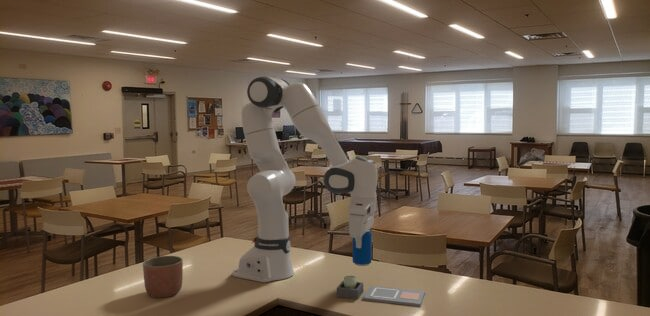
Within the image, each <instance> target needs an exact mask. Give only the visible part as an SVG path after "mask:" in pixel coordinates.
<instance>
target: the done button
mask: <svg viewBox="0 0 650 316" xmlns="http://www.w3.org/2000/svg"><path fill="white" fill-rule="evenodd" d="M343 281H344V288H351V289H356V282H357V277H356V276H355V275H346V276H344V277H343Z"/></svg>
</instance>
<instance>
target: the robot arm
mask: <svg viewBox="0 0 650 316" xmlns="http://www.w3.org/2000/svg"><path fill="white" fill-rule="evenodd" d="M246 93H247V98H248V100H249V102H248V103H246V104H245V105H243V107H242V109H241V125H242V130H243V135H244V139H245V143H246V147H247V150H248V151H247V152H248V155H249V157H250V159H252V160H253V161H254V163H255V164H256V166H257V168H258V170H259V171H258V172H256V173H255V174H254V175H252V176H251V177H250V178H249V179H248V182H247V185H246V190H247V191H246V192H247V194H248V195H249V197H250V198H251V199H252V201H253V204H254V207H255V210H256V214H257V215H256V216H257V230H258V231H257V236H256V237H254V239H251V241H252V242H251V243H252V244H253V243H254V245H253V246H252V247H251V248H250V249H249V250H248V251H246V252H245V253H244V254H243V255H242V256H241V257H240V259H239V262H238V267H236V268H235V269H234V270H233V271H232V277H235V278H240V279H244V280H250V281H254V282H259V283H269V282H272V281H279V280H280V281H281V280H285V279H288V278H290V277H293V275H294V274H295V271H294V269H293V264H292V258H291V253H290V251H291V235H290V231H289V230H290V228H289V214H288V212H287V211H286V209H285V206H284V202H283V197H285V196H286V195H288V194H289V193H291V191H292V190H293V189H294V188H295V185H296V183H297V182H296V179H297V178H296V175H295V173H294V172H293V170H291V169H290V167H289V166H288V164H287V162H286V159H285V158H284V156H283V154H282V152H281V151H282V150H281V149H280V145H279V141H278V137H277V134H276V130H275V126H274V123H273V122H274V121H273V113H277V112H279V111H280V110H282V109H283V108H284V109H285V110H286V112H287V114H288V115H289V117H290V119H291V121H292V123H293V125H294V127H295V129H296V130H297V131H298V132H299V134H300V135H301V136H302V137H303V138H306V139H307V140H308V139H309V140H310V141H312V142H314V143H315V144H317V145H318V146H319V147H320V148H321V150H322V151H323V152H324V155H325V156H326V157H327V160H328V161H329V163H330V165H331V167H330V168H329V169H328V170H326V171H325V173H324V175H323V185H324V187H325V189H326V190H327V191H328V192H329V193H332V194H335V195H342V194H347V193H348V194H350V202H349V205H348V207H347V214H349V215H348V233H349V236H350V238H352V239H353V238H355V241H356V248H361V247H362V236H363V235H364V234H365V233H366V231H368V230H369V229H370V230H371V228H372V227H373V226H374V224H375V223H374V221H375V212H376V211H377V199H378V198H377V197H378V196H377V186H378V167H377V166H378V165H377V163H376V162H375V160H374V159H371V158H369V157H365V156H355V157H354V158H352V159H351V160H350V159H349V158H348V156H347V154H346V153H345V151H344V149H343V147H342V146H341V143H340V142H339V140H338V139H337V137H336V135H335V134H334V132H333V130H332V128H331V126H330V124H329V122H328V119H327V117H326V116H325V113H324V110H323V109H322V107H321V105H320V103H319V101H318V100H317V98H316V97H315V95H314V93H313V92H312V90H311V89H310V87H309V86H308V85H307V84H306V83H303V82H299V81H298V82H293V83H291V84H290V82H288V81H286V80H285V79H282V78H278V77H275V76H268V77H267V76H259V77H256V78H254V79H252V80H251V81H250V83H249V84H248V86H247V89H246Z"/></svg>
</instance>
